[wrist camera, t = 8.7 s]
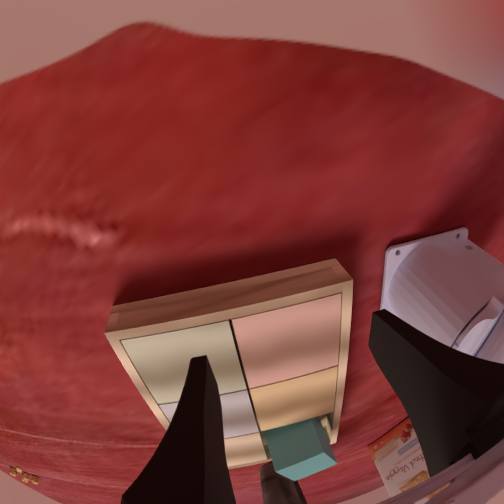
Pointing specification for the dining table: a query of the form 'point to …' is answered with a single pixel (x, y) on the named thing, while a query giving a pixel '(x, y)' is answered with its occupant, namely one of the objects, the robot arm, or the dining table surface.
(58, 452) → the dining table surface
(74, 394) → the dining table surface
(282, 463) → the teal block
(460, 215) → the dining table surface
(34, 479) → the popcorn pieces
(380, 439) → the cracker box
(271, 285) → the puzzle board
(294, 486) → the beverage cup
